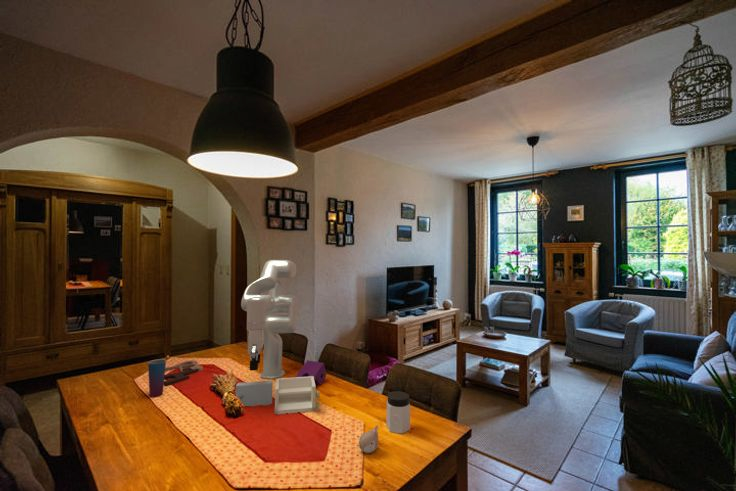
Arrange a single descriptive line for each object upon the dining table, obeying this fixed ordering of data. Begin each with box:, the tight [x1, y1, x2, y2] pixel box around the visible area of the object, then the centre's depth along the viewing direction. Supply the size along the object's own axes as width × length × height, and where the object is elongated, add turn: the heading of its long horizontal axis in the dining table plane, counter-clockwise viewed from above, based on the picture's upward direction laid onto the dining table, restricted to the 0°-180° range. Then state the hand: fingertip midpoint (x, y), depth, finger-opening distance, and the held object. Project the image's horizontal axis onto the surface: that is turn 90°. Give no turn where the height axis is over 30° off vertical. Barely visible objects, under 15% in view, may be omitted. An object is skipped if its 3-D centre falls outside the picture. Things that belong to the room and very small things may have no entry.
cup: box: [147, 358, 167, 398], centre depth 152 cm, size 7×7×15 cm
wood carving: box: [164, 359, 204, 387], centre depth 180 cm, size 28×2×24 cm
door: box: [235, 380, 274, 407], centre depth 144 cm, size 4×15×9 cm, turn 103°
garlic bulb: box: [358, 424, 379, 454], centre depth 111 cm, size 7×6×8 cm
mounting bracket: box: [295, 359, 327, 385], centre depth 166 cm, size 10×9×19 cm
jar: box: [386, 390, 411, 435], centre depth 126 cm, size 9×8×12 cm
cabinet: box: [274, 376, 321, 415], centre depth 142 cm, size 14×18×10 cm
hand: (254, 366), depth 144 cm, fingers open, 9 cm apart
